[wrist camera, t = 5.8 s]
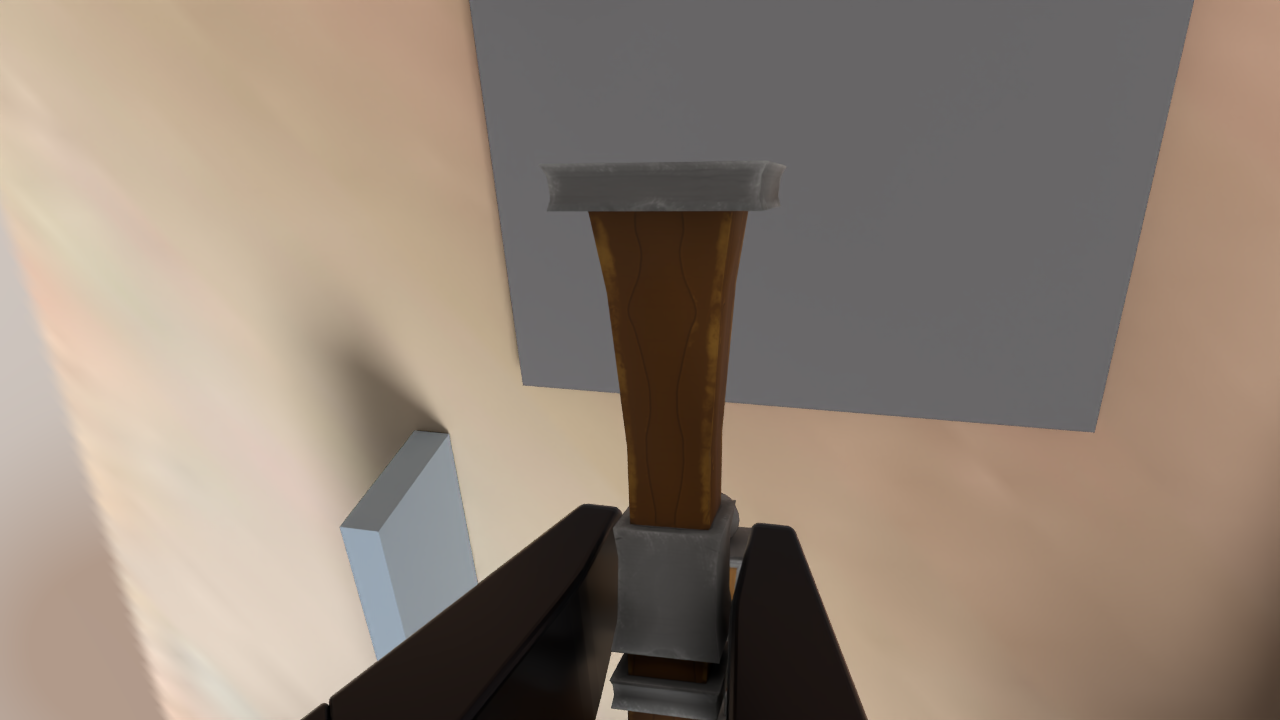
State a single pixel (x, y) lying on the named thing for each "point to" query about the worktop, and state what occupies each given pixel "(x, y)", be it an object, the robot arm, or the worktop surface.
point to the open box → (410, 542)
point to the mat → (851, 186)
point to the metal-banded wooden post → (671, 412)
